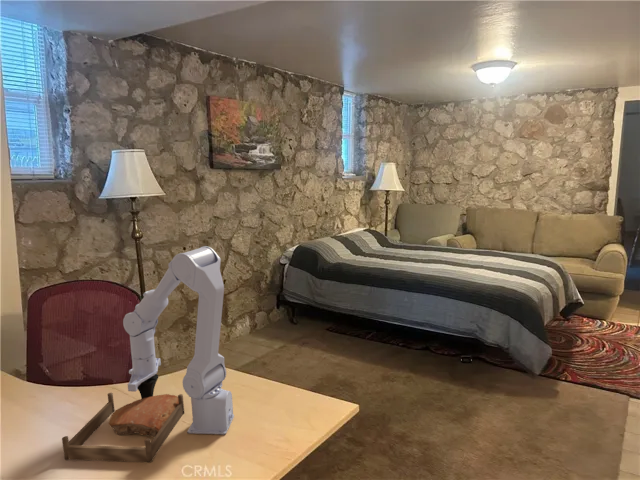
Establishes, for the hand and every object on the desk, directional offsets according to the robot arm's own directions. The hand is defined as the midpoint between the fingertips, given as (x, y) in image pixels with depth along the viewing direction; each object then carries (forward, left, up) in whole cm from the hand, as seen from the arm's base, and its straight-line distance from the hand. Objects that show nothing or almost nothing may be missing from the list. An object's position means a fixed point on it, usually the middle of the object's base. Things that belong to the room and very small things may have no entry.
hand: (147, 402), depth 121 cm
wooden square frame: (0, +11, -2) cm, 11 cm away
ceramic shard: (-2, +6, -2) cm, 6 cm away
